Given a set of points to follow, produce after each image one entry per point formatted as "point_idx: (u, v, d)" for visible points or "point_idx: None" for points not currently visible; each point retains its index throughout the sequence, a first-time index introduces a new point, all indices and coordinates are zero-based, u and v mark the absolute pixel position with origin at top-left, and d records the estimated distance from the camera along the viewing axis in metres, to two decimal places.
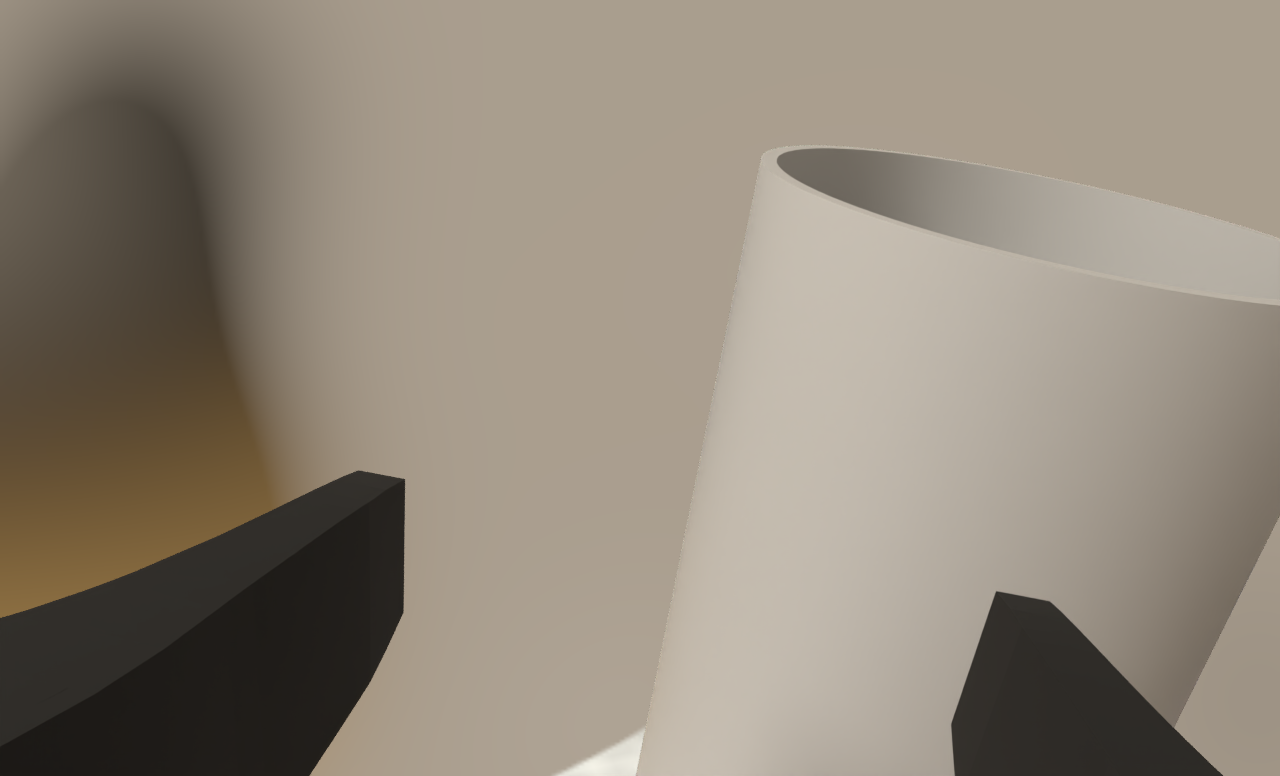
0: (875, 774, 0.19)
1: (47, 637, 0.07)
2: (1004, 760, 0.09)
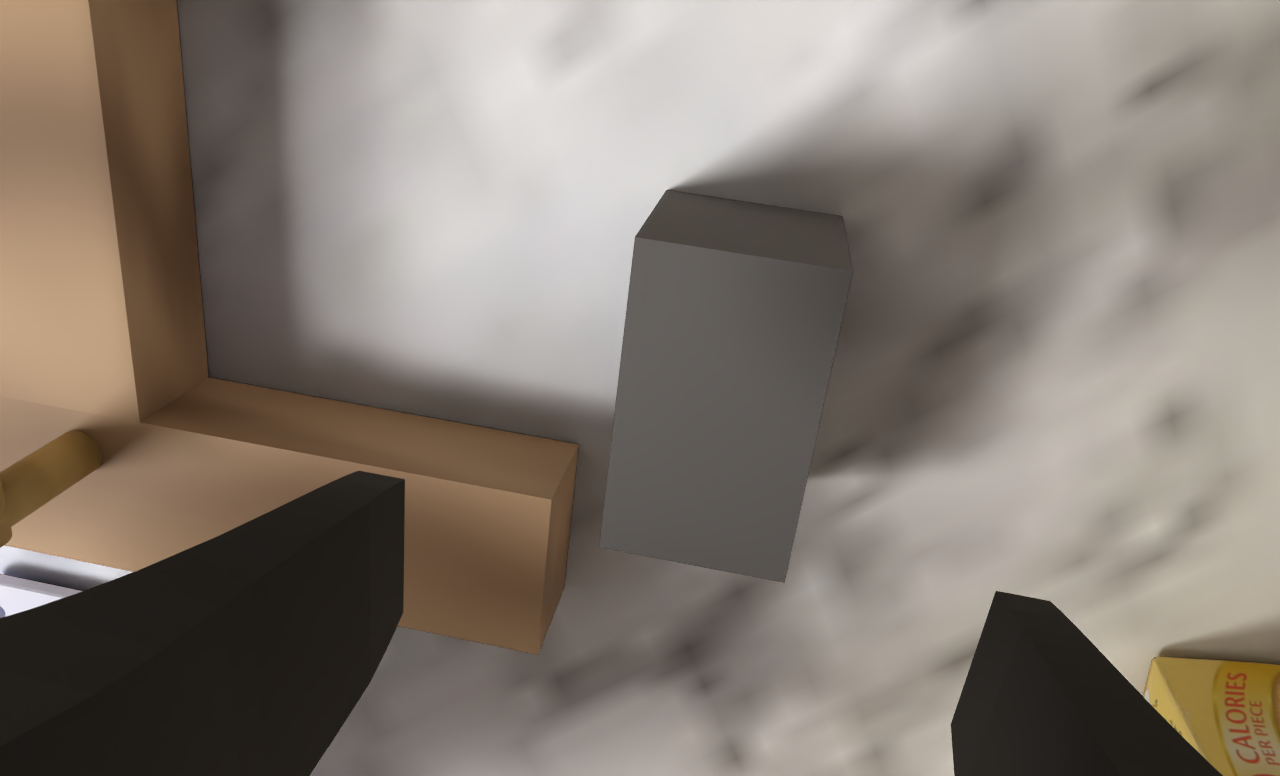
0: None
1: (45, 636, 0.07)
2: (1004, 760, 0.09)
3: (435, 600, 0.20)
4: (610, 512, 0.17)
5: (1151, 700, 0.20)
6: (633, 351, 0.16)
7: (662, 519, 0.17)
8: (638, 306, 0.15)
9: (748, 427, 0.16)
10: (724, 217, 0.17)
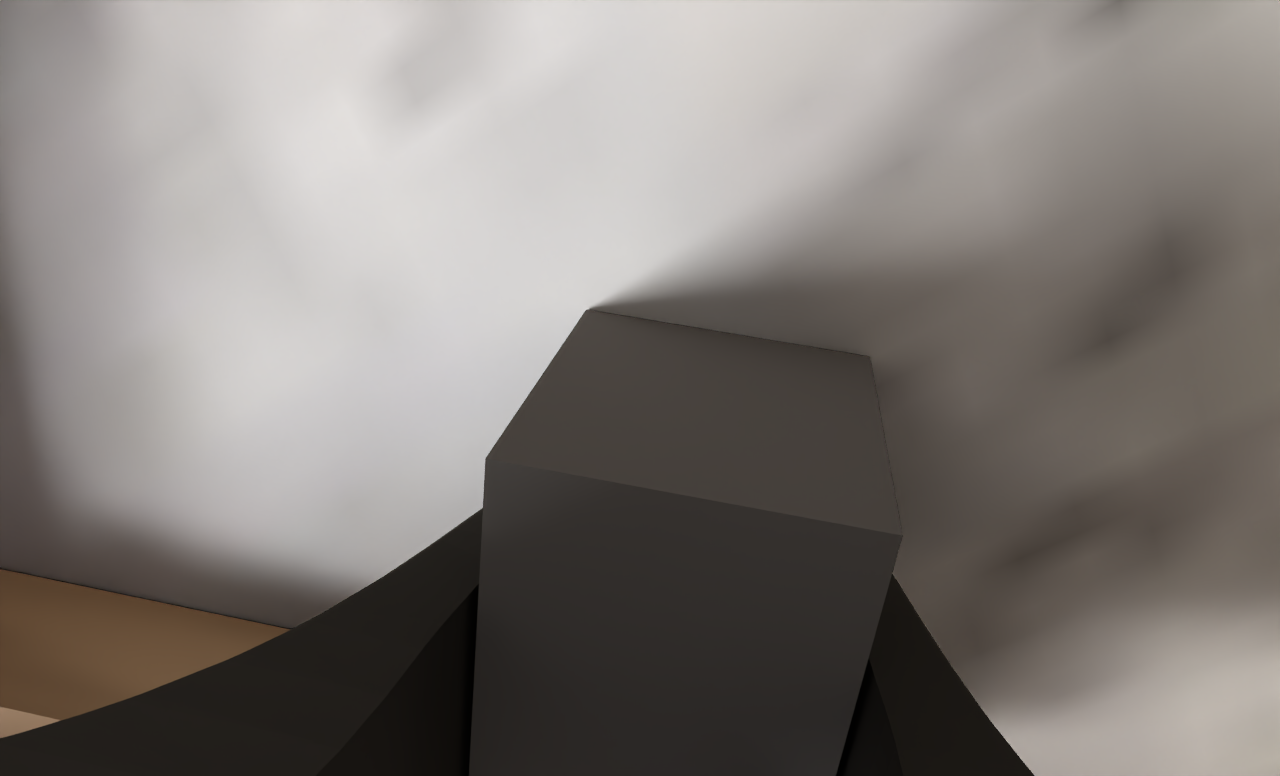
0: None
1: (268, 685, 0.07)
2: None
3: None
4: None
5: None
6: (496, 646, 0.09)
7: None
8: (500, 574, 0.08)
9: None
10: (670, 380, 0.10)
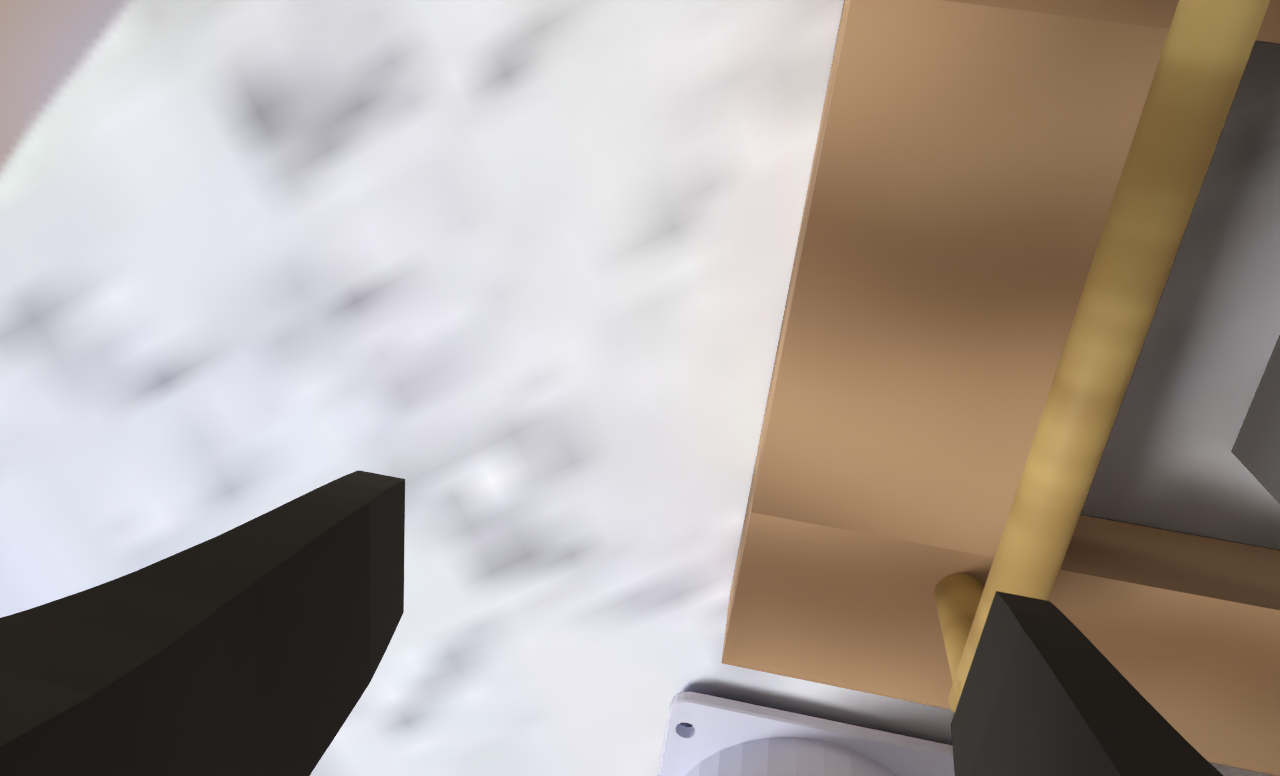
0: None
1: (47, 637, 0.07)
2: (1004, 760, 0.09)
3: None
4: None
5: None
6: None
7: None
8: None
9: None
10: None
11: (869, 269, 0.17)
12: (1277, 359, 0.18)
